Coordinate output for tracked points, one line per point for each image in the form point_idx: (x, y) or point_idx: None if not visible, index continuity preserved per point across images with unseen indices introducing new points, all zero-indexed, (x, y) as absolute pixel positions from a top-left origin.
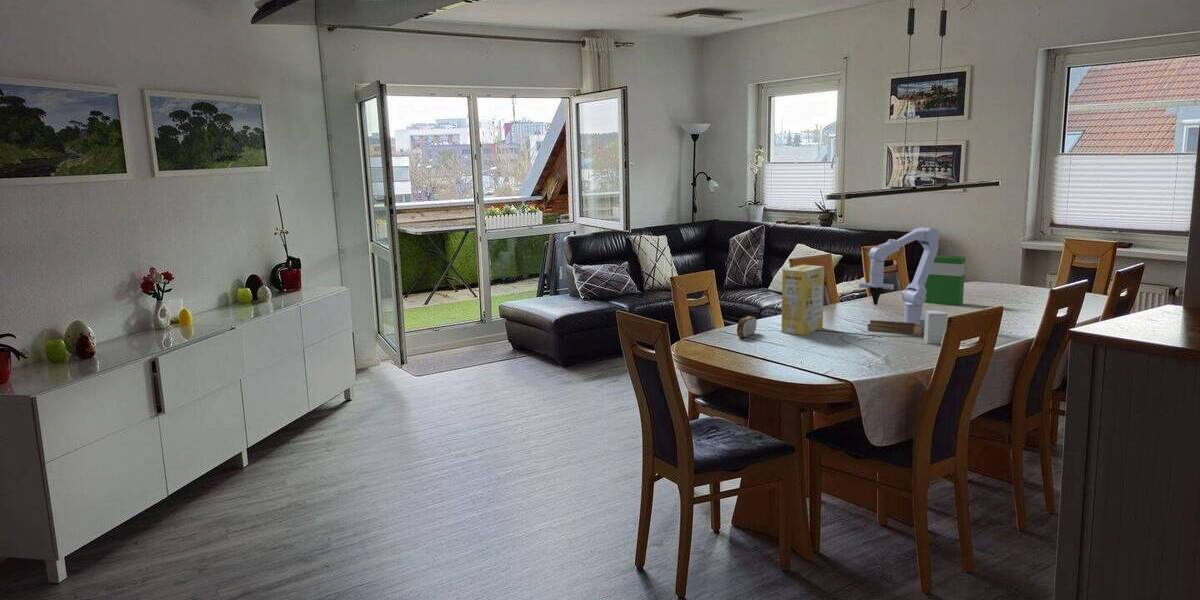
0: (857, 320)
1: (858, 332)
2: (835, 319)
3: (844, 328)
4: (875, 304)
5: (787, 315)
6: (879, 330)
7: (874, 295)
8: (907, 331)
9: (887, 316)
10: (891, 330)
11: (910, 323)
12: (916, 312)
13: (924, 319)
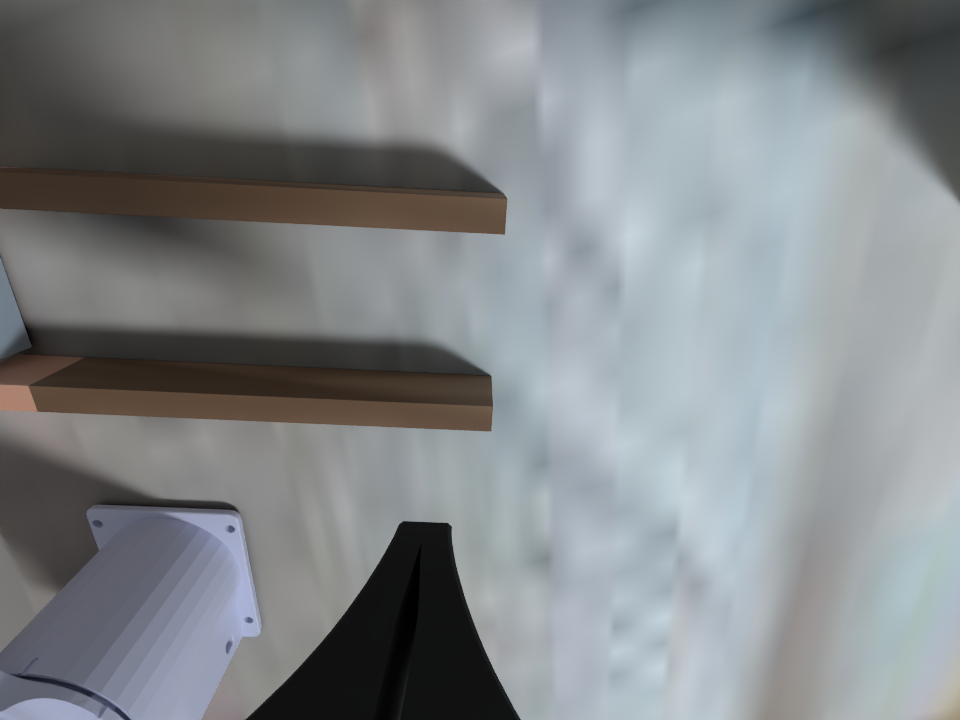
0: (599, 575)
1: (597, 80)
2: (771, 569)
3: (736, 251)
4: (422, 525)
5: None
6: (376, 187)
7: (422, 663)
8: (71, 172)
9: None
10: (244, 180)
11: (81, 386)
12: (45, 614)
13: None
